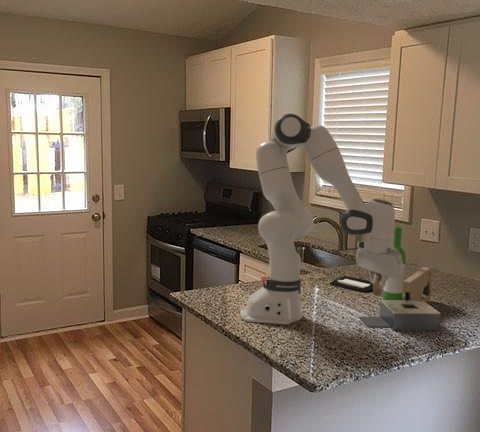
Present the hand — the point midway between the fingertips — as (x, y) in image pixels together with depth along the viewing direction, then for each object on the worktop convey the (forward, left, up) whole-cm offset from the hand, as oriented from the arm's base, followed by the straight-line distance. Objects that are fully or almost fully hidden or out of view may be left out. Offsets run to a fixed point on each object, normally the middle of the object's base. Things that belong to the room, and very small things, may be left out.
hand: (377, 284), depth 183 cm
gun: (+23, +18, -14) cm, 32 cm away
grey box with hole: (+12, -1, -14) cm, 18 cm away
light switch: (+6, +47, -14) cm, 50 cm away
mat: (0, 0, -14) cm, 14 cm away
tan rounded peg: (0, 0, -4) cm, 4 cm away
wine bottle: (+17, +28, -14) cm, 36 cm away
